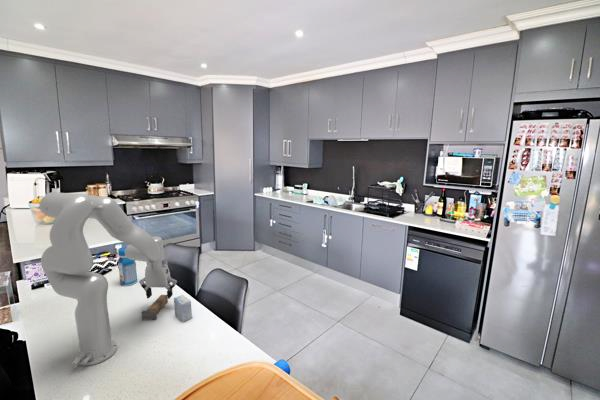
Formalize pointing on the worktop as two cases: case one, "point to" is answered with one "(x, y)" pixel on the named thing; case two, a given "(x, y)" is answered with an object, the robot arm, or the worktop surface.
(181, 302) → the medicine box
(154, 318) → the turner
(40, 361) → the worktop surface
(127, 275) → the beverage bottle
